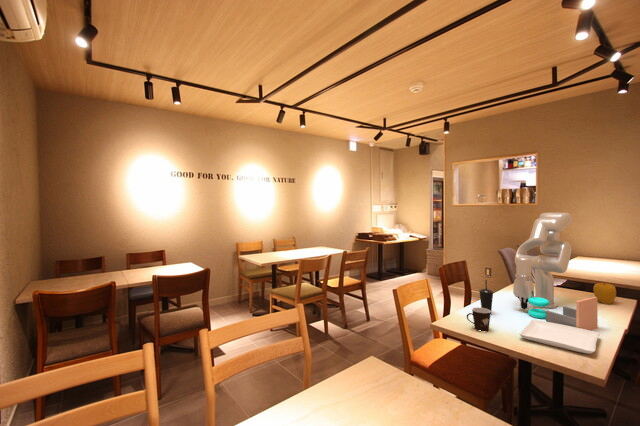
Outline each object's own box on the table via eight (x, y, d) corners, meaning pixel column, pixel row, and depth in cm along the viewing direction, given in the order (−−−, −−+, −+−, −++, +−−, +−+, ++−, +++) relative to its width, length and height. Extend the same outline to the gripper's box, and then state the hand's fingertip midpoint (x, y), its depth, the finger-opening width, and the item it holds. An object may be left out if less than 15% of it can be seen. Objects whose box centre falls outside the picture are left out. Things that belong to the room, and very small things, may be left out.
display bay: (546, 323, 166) (545, 294, 166) (564, 318, 173) (564, 290, 172) (579, 334, 152) (578, 301, 152) (597, 328, 159) (597, 297, 159)
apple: (593, 299, 206) (593, 280, 206) (616, 302, 199) (616, 282, 199) (592, 303, 198) (592, 283, 198) (616, 306, 191) (616, 285, 191)
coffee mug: (489, 327, 163) (489, 308, 163) (492, 333, 155) (492, 313, 155) (465, 324, 167) (464, 306, 167) (467, 331, 159) (466, 311, 159)
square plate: (600, 339, 147) (600, 331, 147) (594, 360, 128) (594, 351, 127) (532, 324, 166) (532, 317, 166) (518, 341, 147) (518, 332, 147)
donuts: (536, 301, 172) (523, 296, 182) (536, 319, 172) (524, 313, 182) (553, 301, 172) (540, 296, 182) (553, 319, 173) (540, 313, 183)
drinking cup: (493, 312, 185) (492, 279, 185) (494, 316, 178) (494, 282, 178) (478, 310, 189) (478, 278, 188) (479, 314, 182) (479, 281, 181)
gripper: (507, 276, 190) (507, 305, 190) (532, 281, 176) (532, 313, 177) (515, 274, 193) (516, 304, 193) (540, 279, 179) (541, 311, 179)
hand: (524, 308), depth 185 cm, fingers closed
